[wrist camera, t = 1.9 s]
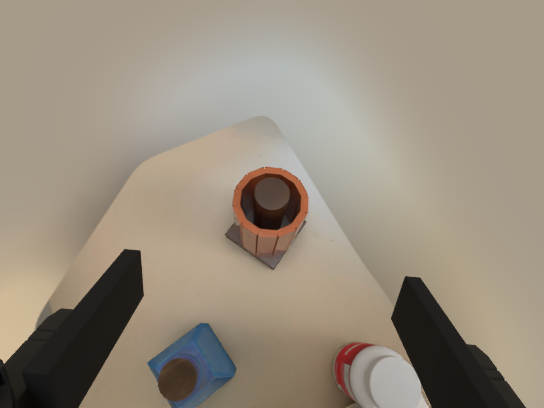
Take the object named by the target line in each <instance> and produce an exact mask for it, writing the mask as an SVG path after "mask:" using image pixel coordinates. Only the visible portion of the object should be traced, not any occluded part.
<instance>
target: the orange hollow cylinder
mask: <svg viewBox="0 0 544 408" xmlns="http://www.w3.org/2000/svg"><path fill="white" fill-rule="evenodd" d="M282 170H283V169H282V168H272V167H265V169H264V167H262V168H260V169H257V170H255V171H252V172H250V173H248V175H245V176H244V178H243V179H242V180H241V181H240V182H239V184H238V185H237V186H236V189H235V190H234V197H233V212H234V219H235V226H236V232H237V235H238V238H239V240H240V242H241V244H242V246H243V247H244V248H245V249H247V250H248V251H249V252H251V253H252V254H254V255H256V254H257V255H256V256H261V257H271V256H272V257H274V256H276V255H278V254H281V253H283V252H285V251H286V250H287V249H288V248H289V246H290V245H291V243H292V242H293V240H294V239H295V237H296V235H297V233H298V231H299V229H300V227H301V225H302V223H303V222H304V220H305V218H306V216H307V213H308V196H307V195H308V194H307V192H306V190H305V188H304V186H303V185H302V183H301V181H300V180H298V178H297V177H295V176H294V175H292V174H291V173H289V172H288V171H286V170H283V171H282ZM269 177H274V178H278V179H280V180H282V181H283V182H285V183H286V185H287V186H288V188H289V191H290V198H289V201H288V204H287V207H286V211H285V215H286V217H287V219H288V221H289V223H290V225H288V226H285V227H283V228H281V229H278V230H269V229H260V228H258V227H257V226H255V225H254V224H252V223H251V222H250V221H248V220H247V219H246V216H247V215H248V213H249V212H250V211H251V210H252V209H254V191H255V187H256V185H257V184H258V183H259V182H260V181H261V180H263V179H265V178H269Z"/></svg>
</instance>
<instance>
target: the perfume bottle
mask: <svg viewBox="0 0 544 408" xmlns="http://www.w3.org/2000/svg"><path fill="white" fill-rule="evenodd" d="M147 363H148V365H149V367H150V369H151V371H152V373H153V374H154V376H155V378H156V380H157V382H158V387H159V390H160V393H161V394H162V395H163V396H164V398H166V399H167V400H168V402H169V404H170V405H171V407H172V408H196V407H197V406H198V405H199V404H201V403H202V402H203V401H204V400H206V399H207V398H208V397H209V396H210V395H212V394H213V393H214V392H215V391H217V390H218V389H219V388H220V387H221V386H223V385H224V384H225V383H226V382H228V381H229V380H230V379H231V378H232V377H234V374H235V371H236V367H235V366H234V364H233V362H232V361H231V359H230V358H229V356H228V354H227V353H226V351H225V350H224V348H223V346H222V345H221V343H220V342H219V340H218V338H217V337H216V335H215V334H214V332H213V330H212V329H211V327H210V326H209V324H208V323H200V324H199V325H198V326H196V327H195V328H194V329H192V330H191V331H189V332H188V333H187V334H185V335H184V336H183V337H181V338H180V339H179V340H177V341H176V342H175V343H173V344H172V345H170V346H169V347H168V348H166V349H165V350H164V351H162V352H161V353H160V354H158V355H157V356H156V357H154V358H153V359H151V360H150V361H149V362H147Z"/></svg>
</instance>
